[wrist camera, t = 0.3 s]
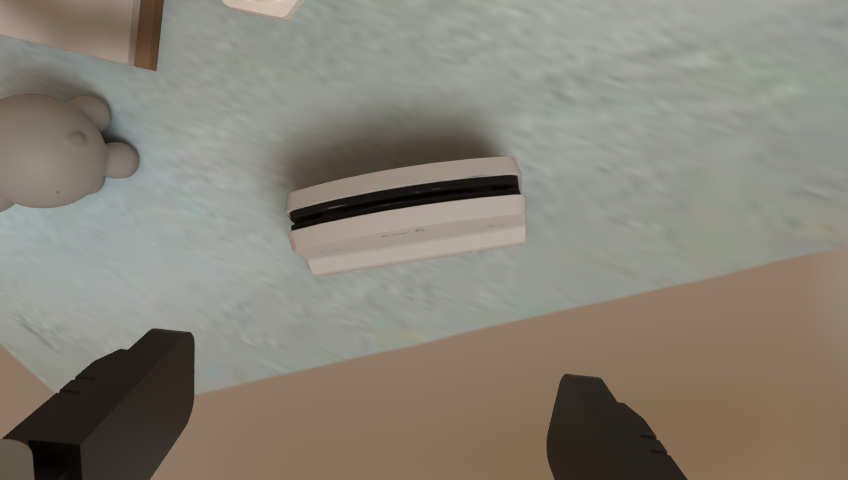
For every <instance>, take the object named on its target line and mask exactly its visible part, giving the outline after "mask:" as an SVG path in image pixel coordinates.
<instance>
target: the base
mask: <svg viewBox="0 0 848 480" xmlns="http://www.w3.org/2000/svg"><path fill="white" fill-rule="evenodd" d="M163 3H164V0H0V34H1V35H6V36H10V37H14V38H18V39H22V40H27V41H31V42H35V43H39V44H43V45H48V46H52V47H56V48H60V49H64V50H69V51H73V52H77V53H81V54H85V55H90V56H94V57H98V58H102V59H106V60H111V61H115V62H119V63H123V64H127V65H132V66H136V67H141V68H145V69H149V70H154V71H156V68H157V58H158V49H159V40H160V31H161V21H162V12H163Z"/></svg>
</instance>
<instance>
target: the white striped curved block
mask: <svg viewBox="0 0 848 480" xmlns="http://www.w3.org/2000/svg"><path fill="white" fill-rule="evenodd" d="M285 214H286V215H287V216H288V217H289V218H290V220H291V221H292V222H293V223H295V225H292V227H291V229H292V231H291V232H289V233H288V237H289V240H290V243H291V246H292V249H293V252H294V253H296V254H298V255H299V256H301V257H303V258H305V259H306V260H307V261H308V264H309V266H310V268H311V271H312V273H313V275H315V276H326V275H332V274H339V273H345V272H351V271H358V270H364V269H371V268H377V267H384V266H390V265H396V264H403V263H409V262H416V261H422V260H429V259H435V258H441V257H448V256H454V255H461V254H467V253H473V252H480V251H486V250H493V249H499V248H506V247H512V246H518V245H523V244H524V243H525V223H526V196H525V195H522V174H521V172H520V170H519V167H518V165H517V163H516V160H515V158H514V157H509V156H506V157H488V158H475V159H464V160H455V161H446V162H437V163H429V164H422V165H415V166H409V167H402V168H395V169H390V170H384V171H378V172H373V173H368V174H363V175H358V176H353V177H349V178H344V179H339V180H335V181H331V182H327V183H323V184H319V185H315V186H311V187H308V188H304V189H300V190H297V191H293V192H291V193H289V194H288V195H287V202H286V210H285Z"/></svg>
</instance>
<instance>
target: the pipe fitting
mask: <svg viewBox="0 0 848 480" xmlns="http://www.w3.org/2000/svg"><path fill="white" fill-rule="evenodd" d="M304 1H305V0H223V2H224V4H225V5H226V6H228V7H230V8H231V9H233V10H236V11H241V12H246V13H250V14H255V15H260V16H265V17H269V18H274V19H279V20H283V21H287V20H289V19H291V18H292V16H293V15H294V14H295V12H296V11H297V10H298V8H299V7H300V6H301V4H302V3H303V2H304Z"/></svg>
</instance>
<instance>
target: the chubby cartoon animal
mask: <svg viewBox="0 0 848 480" xmlns="http://www.w3.org/2000/svg"><path fill="white" fill-rule="evenodd" d="M110 122H111V113H110V109H109V107H108V106H107V105H106V103H104V102H103V101H102V100H100V99H98V98H95V97H92V96H79V97H75V98H73V99H71V100H69V101H68V102H63V101H61V100H58V99H55V98H52V97H48V96H43V95H33V94H23V95H15V96H10V97H6V98H3V99H0V212H2V211H4V210H7V209H8V208H10V207H11V206H13V205H14V204H19V205H22V206H27V207H34V208H54V207H60V206H65V205H68V204H71V203H74V202H76V201H78V200H80V199H82V198H83V197H85V196H86V195H88V194H93V193H96V192H98V191H99V190H100V189H101V188H102V186H103V185H104V181H105V176H106V177H110V178H127V177H130V176H132V175H133V174H134V173H135V172H136V170H137V168H138V165H139V157H138V154H137V152H136V151H135V150H134V149H133V148H132V147H131V146H129V145H127V144H125V143H121V142H111V143H107V144H105V142H104V139H103V137H102V135H101V133H100V132H102V131H104V130H106V129H107V128H108V126H109V125H110Z"/></svg>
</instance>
